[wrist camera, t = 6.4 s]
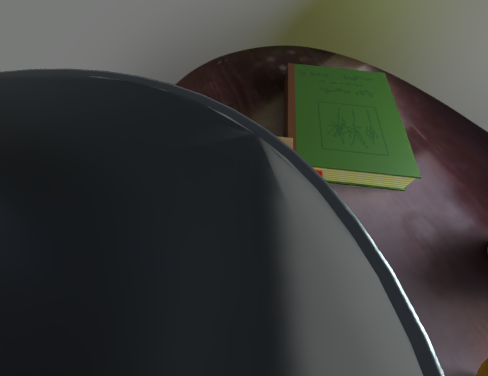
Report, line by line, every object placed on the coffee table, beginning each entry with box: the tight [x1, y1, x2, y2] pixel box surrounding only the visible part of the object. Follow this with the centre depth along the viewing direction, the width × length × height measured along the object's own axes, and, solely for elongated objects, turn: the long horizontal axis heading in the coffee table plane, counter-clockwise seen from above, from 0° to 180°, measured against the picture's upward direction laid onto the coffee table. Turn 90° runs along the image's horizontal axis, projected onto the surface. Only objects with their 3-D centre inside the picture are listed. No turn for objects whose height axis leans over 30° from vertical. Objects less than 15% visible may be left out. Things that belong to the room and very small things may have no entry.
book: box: [284, 63, 422, 191], centre depth 40 cm, size 25×19×4 cm
